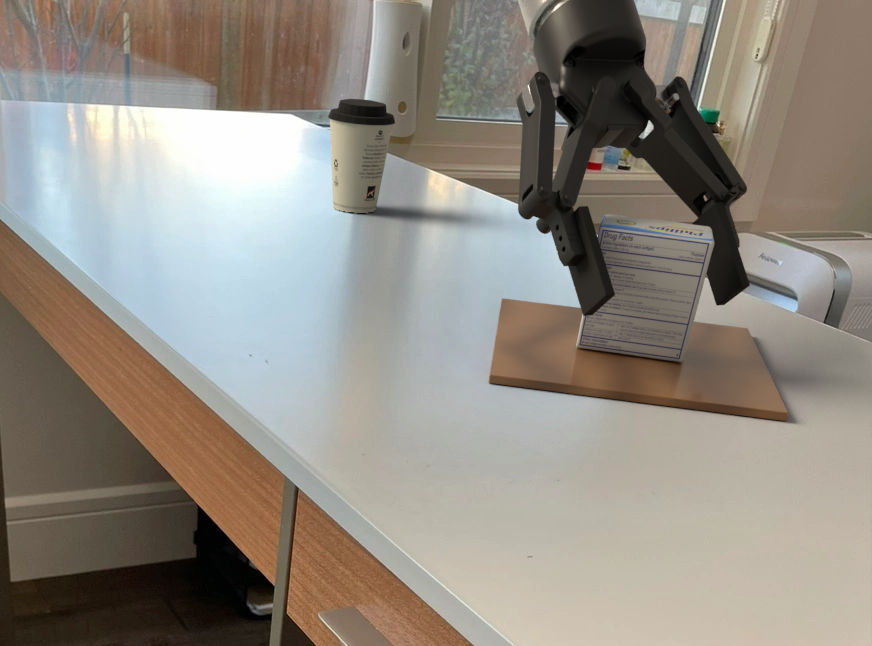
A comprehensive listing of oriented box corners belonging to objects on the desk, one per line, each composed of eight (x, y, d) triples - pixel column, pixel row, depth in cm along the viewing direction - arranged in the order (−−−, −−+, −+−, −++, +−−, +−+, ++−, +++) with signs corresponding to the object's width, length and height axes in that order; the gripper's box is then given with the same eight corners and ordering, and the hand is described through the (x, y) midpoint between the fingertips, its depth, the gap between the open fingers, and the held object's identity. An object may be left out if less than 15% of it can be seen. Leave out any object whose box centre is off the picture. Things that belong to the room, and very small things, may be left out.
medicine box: (682, 348, 84) (714, 226, 79) (683, 365, 81) (716, 239, 76) (578, 332, 86) (602, 211, 80) (574, 349, 82) (599, 223, 77)
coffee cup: (391, 218, 117) (401, 110, 111) (324, 214, 116) (332, 105, 110) (382, 203, 122) (392, 100, 116) (319, 199, 121) (325, 95, 116)
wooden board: (745, 335, 91) (747, 327, 90) (786, 421, 74) (788, 412, 74) (500, 305, 92) (501, 298, 92) (488, 383, 76) (489, 374, 76)
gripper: (674, 63, 89) (755, 317, 87) (416, 54, 79) (500, 338, 77) (740, -10, 82) (829, 263, 80) (466, -30, 72) (560, 279, 70)
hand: (668, 300), depth 79 cm, fingers open, 12 cm apart
